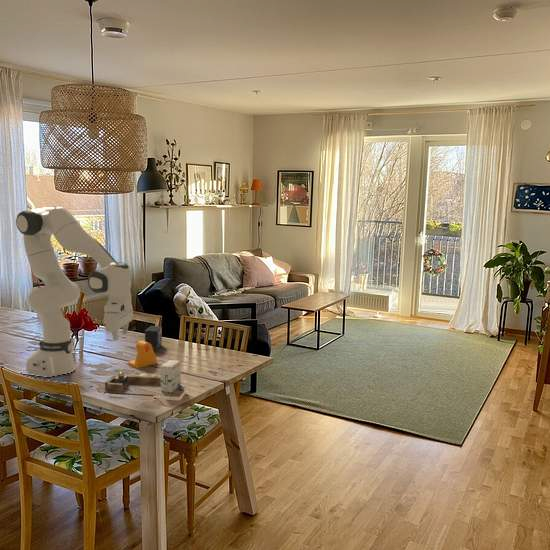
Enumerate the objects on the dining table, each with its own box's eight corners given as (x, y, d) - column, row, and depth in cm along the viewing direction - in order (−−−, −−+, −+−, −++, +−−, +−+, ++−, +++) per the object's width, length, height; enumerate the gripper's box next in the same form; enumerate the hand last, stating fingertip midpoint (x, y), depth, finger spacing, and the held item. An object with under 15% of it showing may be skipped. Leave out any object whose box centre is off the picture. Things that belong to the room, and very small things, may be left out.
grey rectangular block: (114, 388, 220) (114, 373, 219) (118, 384, 224) (118, 370, 223) (124, 388, 219) (123, 374, 218) (127, 385, 223) (127, 370, 222)
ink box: (170, 386, 226) (169, 359, 224) (181, 388, 224) (180, 360, 222) (160, 393, 217) (159, 365, 216) (171, 395, 216) (171, 366, 214)
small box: (157, 351, 274) (157, 330, 272) (144, 350, 274) (144, 330, 272) (162, 345, 284) (162, 325, 283) (150, 345, 284) (149, 325, 283)
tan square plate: (135, 381, 231) (135, 378, 230) (140, 375, 238) (140, 373, 237) (151, 382, 230) (151, 379, 230) (156, 376, 237) (156, 374, 237)
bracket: (147, 362, 257) (146, 337, 255) (156, 365, 252) (156, 340, 250) (127, 367, 248) (127, 341, 247) (137, 371, 244) (136, 345, 242)
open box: (103, 393, 217) (103, 383, 216) (114, 383, 227) (114, 374, 227) (153, 396, 215) (152, 386, 214) (161, 386, 226) (161, 377, 225)
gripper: (122, 297, 228) (122, 329, 230) (101, 308, 208) (102, 343, 210) (136, 298, 228) (137, 330, 230) (118, 309, 207) (118, 344, 210)
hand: (120, 336), depth 220 cm, fingers open, 8 cm apart
